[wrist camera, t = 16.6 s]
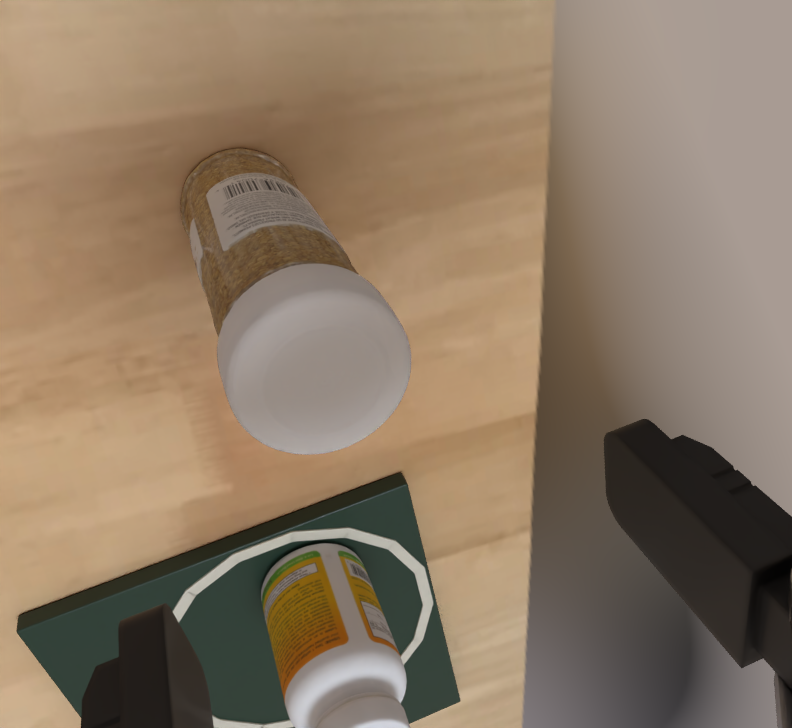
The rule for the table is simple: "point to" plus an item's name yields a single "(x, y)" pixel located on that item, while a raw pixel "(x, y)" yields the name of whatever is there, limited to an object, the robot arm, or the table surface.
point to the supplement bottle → (332, 642)
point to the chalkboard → (259, 608)
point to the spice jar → (289, 310)
